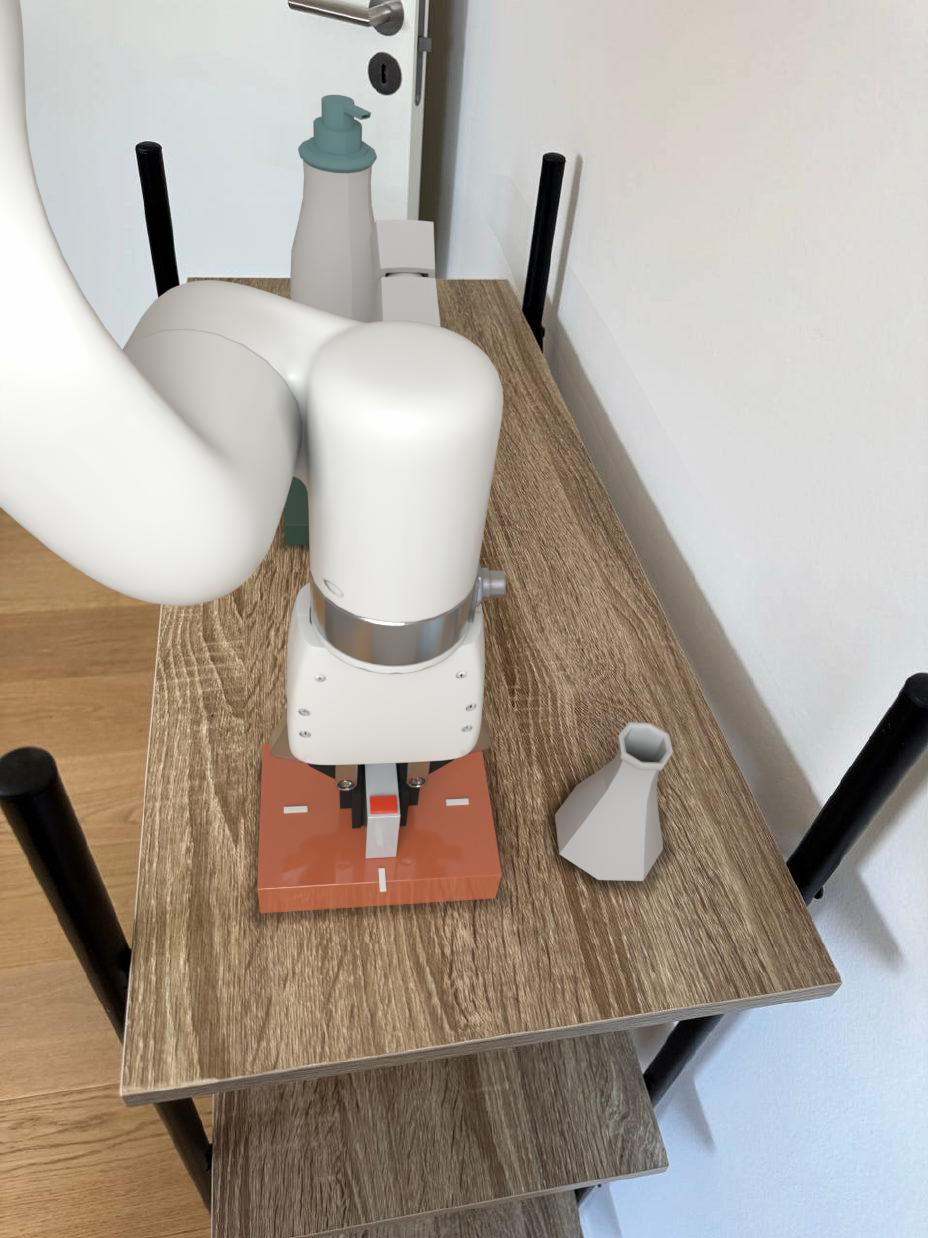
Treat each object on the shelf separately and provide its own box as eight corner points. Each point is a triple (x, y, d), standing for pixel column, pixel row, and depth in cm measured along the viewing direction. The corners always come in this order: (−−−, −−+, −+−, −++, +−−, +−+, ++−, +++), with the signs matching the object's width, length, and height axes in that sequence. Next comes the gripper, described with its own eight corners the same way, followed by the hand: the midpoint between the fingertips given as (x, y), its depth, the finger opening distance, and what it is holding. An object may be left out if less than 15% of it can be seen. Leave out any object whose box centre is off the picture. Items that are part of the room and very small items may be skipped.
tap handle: (360, 758, 58) (362, 713, 54) (388, 757, 58) (392, 712, 54) (365, 859, 53) (367, 815, 49) (396, 857, 53) (400, 814, 50)
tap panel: (259, 923, 53) (256, 898, 50) (265, 762, 60) (262, 734, 58) (497, 908, 55) (504, 883, 53) (473, 754, 62) (479, 726, 60)
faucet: (384, 433, 79) (369, 210, 80) (368, 476, 95) (356, 289, 96) (455, 432, 80) (440, 212, 81) (427, 475, 96) (415, 290, 97)
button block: (285, 545, 75) (283, 507, 72) (287, 470, 82) (285, 433, 79) (430, 545, 77) (434, 508, 74) (420, 471, 84) (423, 435, 81)
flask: (669, 805, 61) (714, 714, 54) (654, 900, 56) (701, 814, 49) (565, 773, 62) (596, 680, 55) (541, 864, 57) (571, 774, 50)
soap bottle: (331, 363, 95) (332, 126, 78) (272, 324, 99) (260, 91, 82) (400, 334, 100) (413, 108, 84) (341, 298, 104) (343, 76, 88)
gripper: (544, 538, 46) (496, 751, 59) (221, 538, 43) (246, 760, 57) (574, 650, 41) (514, 855, 54) (210, 657, 38) (241, 870, 52)
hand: (377, 805), depth 55 cm, fingers closed on tap handle, 2 cm apart
